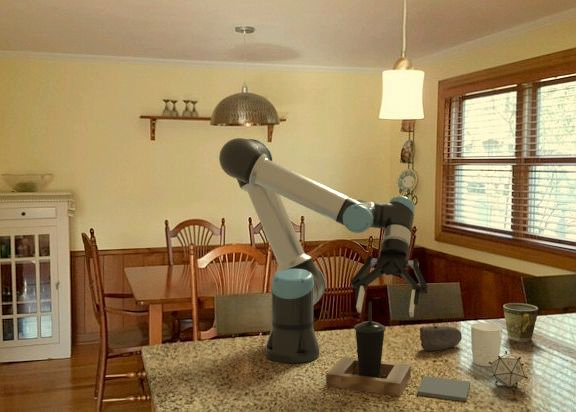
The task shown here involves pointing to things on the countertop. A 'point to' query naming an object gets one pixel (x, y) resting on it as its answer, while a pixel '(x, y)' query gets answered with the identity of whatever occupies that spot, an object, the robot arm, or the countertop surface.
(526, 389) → the countertop surface
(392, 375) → the holder frame
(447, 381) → the slate mat
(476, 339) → the white cup
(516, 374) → the game die
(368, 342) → the drinking cup
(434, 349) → the perforated stone tool
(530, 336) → the ceramic cup
